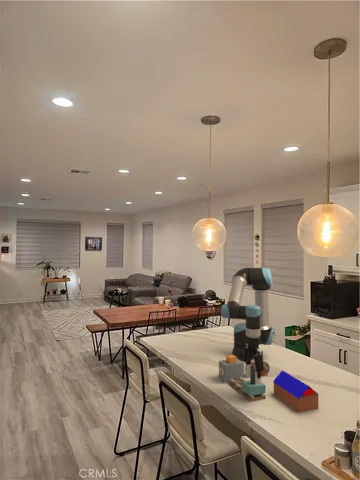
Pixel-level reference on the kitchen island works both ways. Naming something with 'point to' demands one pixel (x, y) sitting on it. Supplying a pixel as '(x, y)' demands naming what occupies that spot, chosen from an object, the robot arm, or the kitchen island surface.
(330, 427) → the kitchen island surface
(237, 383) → the rail bed
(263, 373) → the tin
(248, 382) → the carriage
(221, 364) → the cabinet
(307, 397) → the house
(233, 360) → the button
